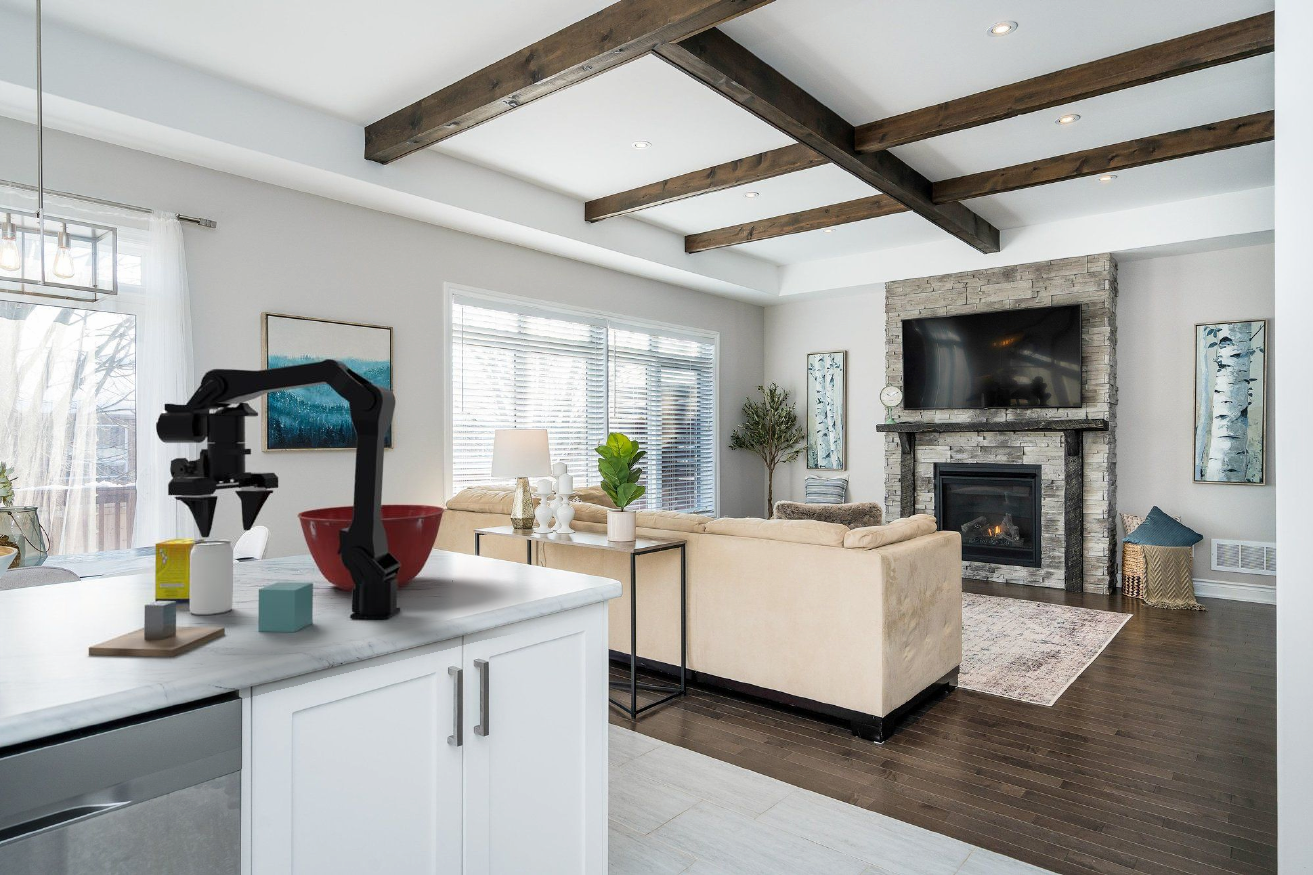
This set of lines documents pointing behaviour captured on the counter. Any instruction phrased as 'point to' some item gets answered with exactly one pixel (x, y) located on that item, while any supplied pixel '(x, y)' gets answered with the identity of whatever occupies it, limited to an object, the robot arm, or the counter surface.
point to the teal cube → (285, 607)
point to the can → (211, 577)
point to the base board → (157, 642)
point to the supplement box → (173, 570)
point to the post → (160, 620)
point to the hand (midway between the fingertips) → (226, 533)
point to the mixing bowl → (405, 533)
